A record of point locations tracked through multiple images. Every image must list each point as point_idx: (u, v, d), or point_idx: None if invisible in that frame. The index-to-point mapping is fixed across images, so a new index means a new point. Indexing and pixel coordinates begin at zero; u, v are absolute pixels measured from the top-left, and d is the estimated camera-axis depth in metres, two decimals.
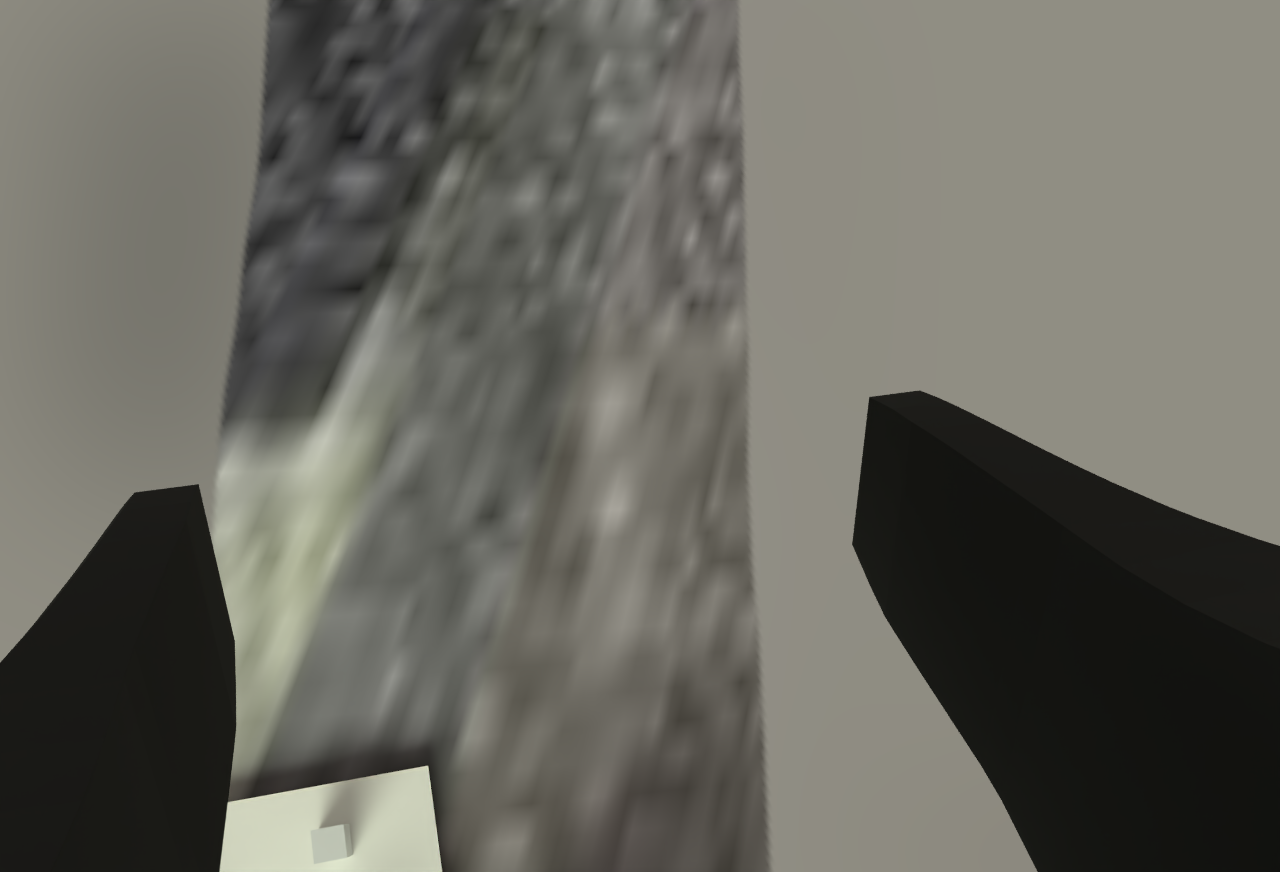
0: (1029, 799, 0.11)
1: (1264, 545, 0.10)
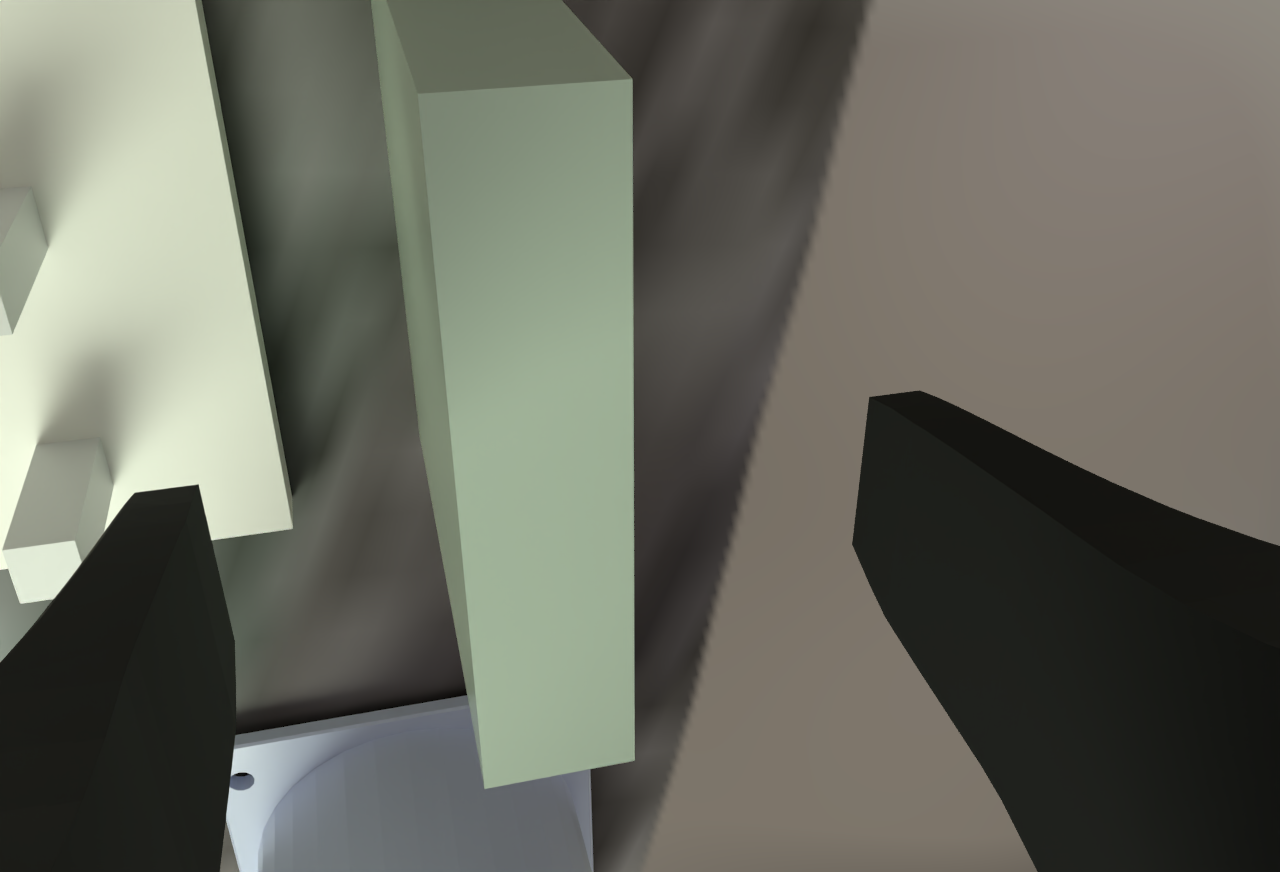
0: (1029, 799, 0.11)
1: (1264, 545, 0.10)
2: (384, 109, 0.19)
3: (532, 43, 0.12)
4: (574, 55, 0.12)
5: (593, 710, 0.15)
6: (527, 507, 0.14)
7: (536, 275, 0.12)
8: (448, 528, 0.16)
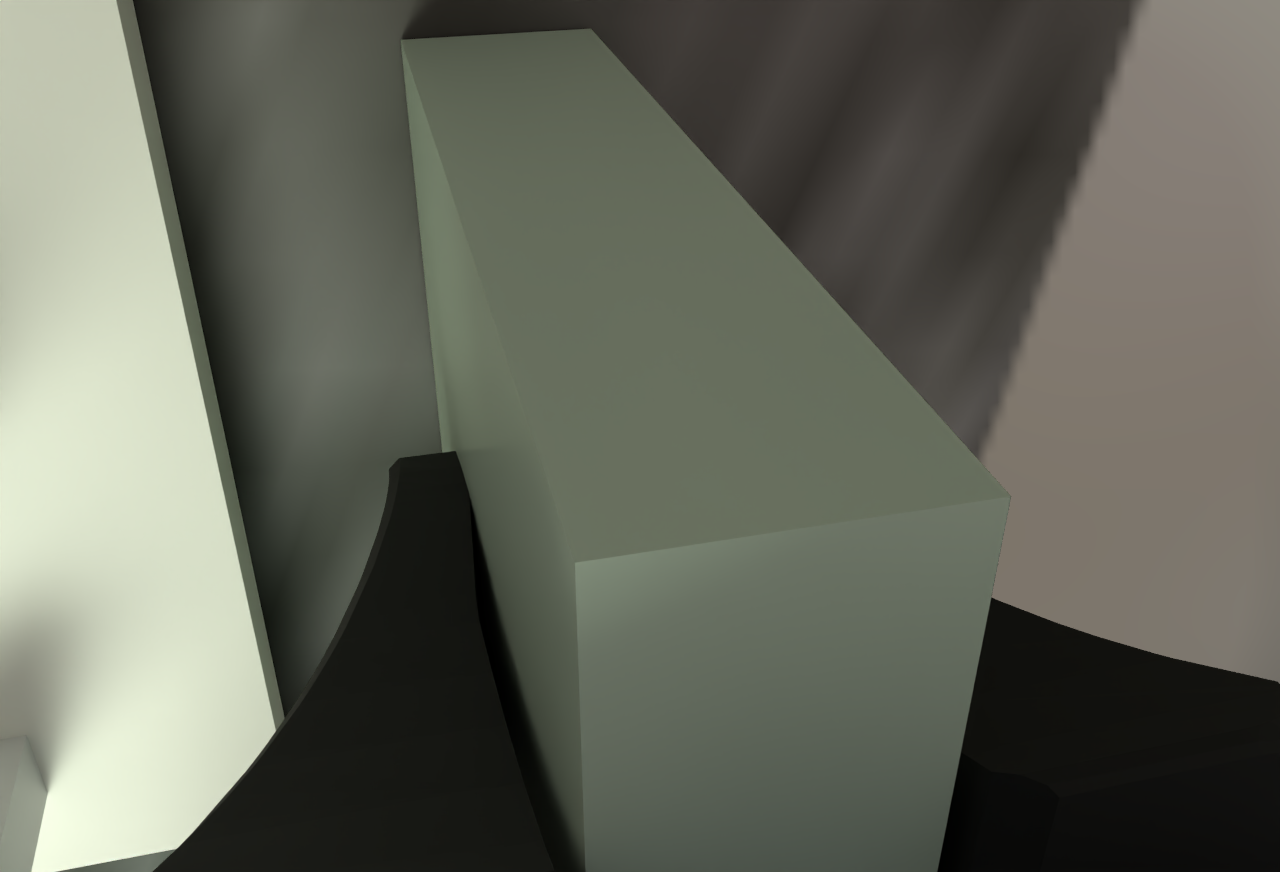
0: None
1: None
2: (429, 292, 0.13)
3: (755, 356, 0.07)
4: (852, 400, 0.06)
5: None
6: None
7: (776, 824, 0.06)
8: None
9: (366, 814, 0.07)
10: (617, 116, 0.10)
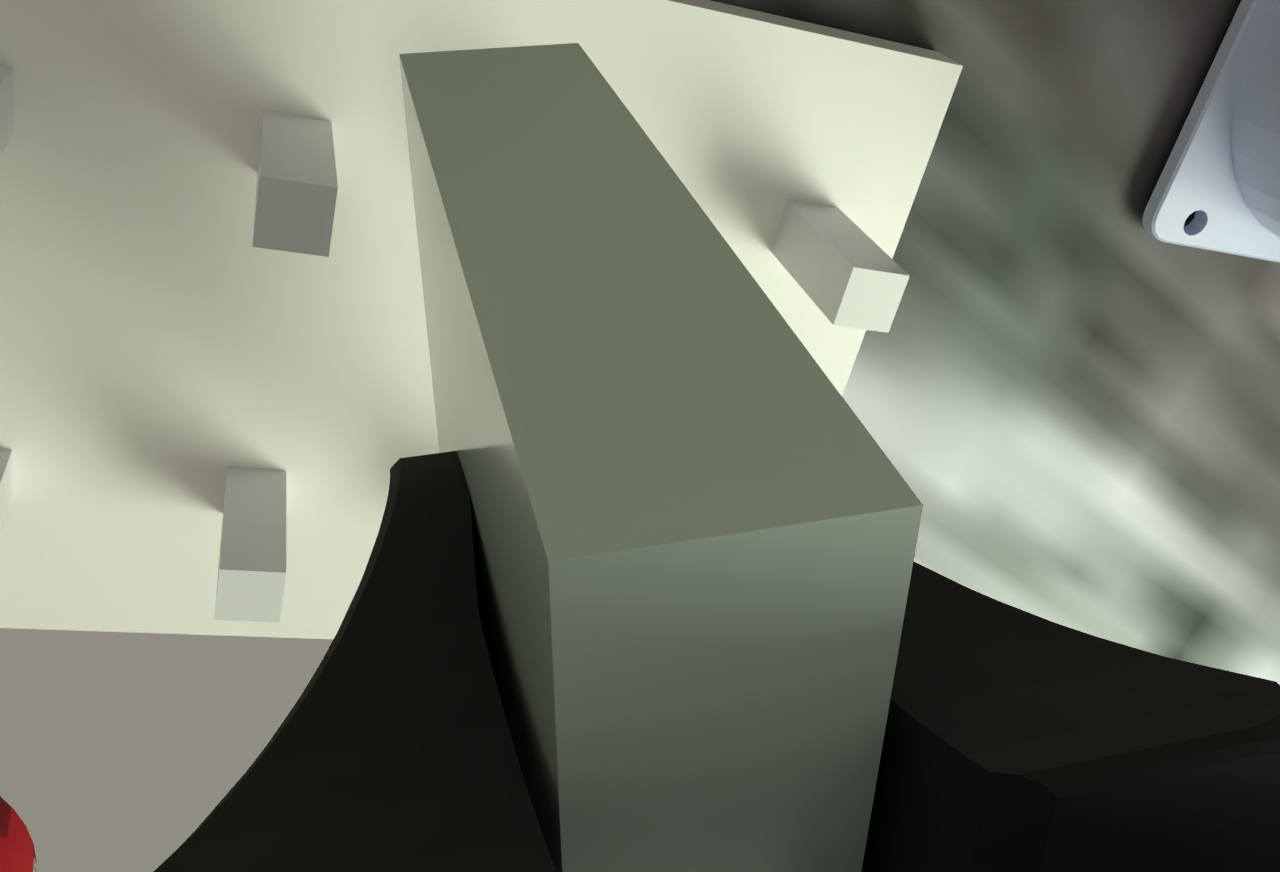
0: None
1: (972, 595, 0.09)
2: (425, 290, 0.14)
3: (712, 375, 0.07)
4: (794, 417, 0.07)
5: None
6: None
7: (724, 782, 0.07)
8: None
9: (368, 814, 0.07)
10: (599, 136, 0.11)
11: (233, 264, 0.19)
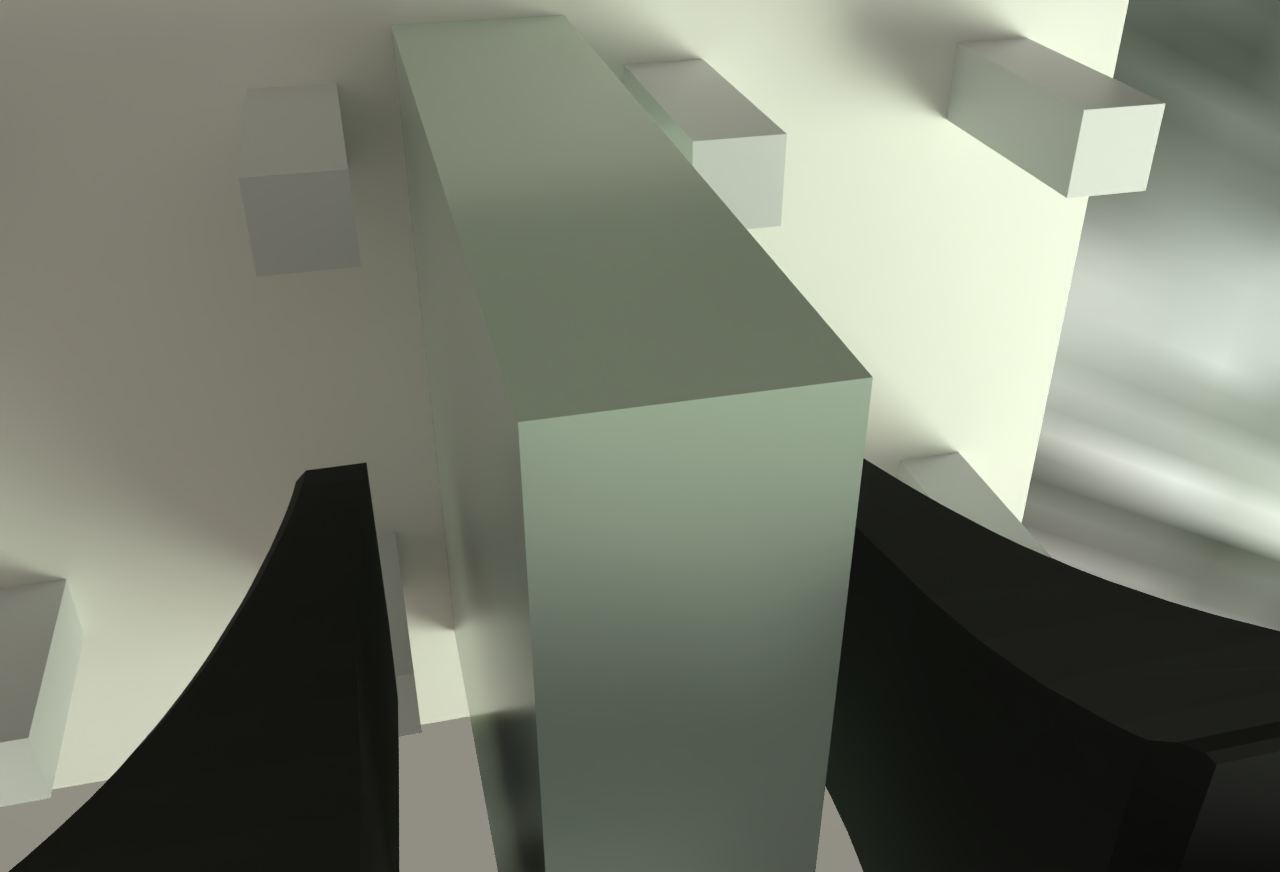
0: (868, 833, 0.11)
1: (1083, 576, 0.09)
2: (417, 255, 0.15)
3: (680, 277, 0.08)
4: (755, 309, 0.07)
5: None
6: None
7: (691, 660, 0.08)
8: None
9: (193, 848, 0.06)
10: (581, 90, 0.12)
11: (263, 298, 0.15)
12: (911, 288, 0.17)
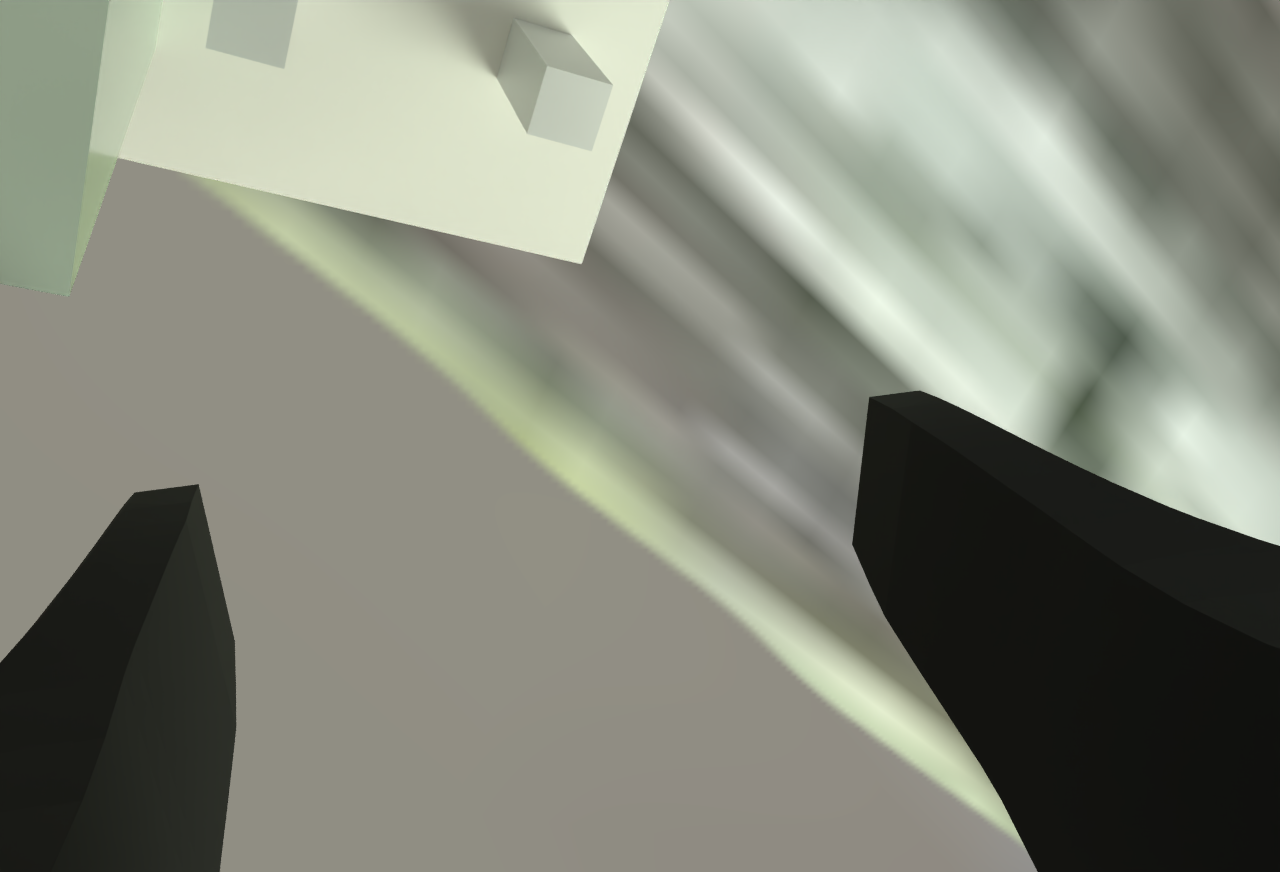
0: (1029, 799, 0.11)
1: (1264, 545, 0.10)
2: None
3: None
4: None
5: (16, 176, 0.10)
6: None
7: None
8: None
9: None
10: None
11: None
12: None
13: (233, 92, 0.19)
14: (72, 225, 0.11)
